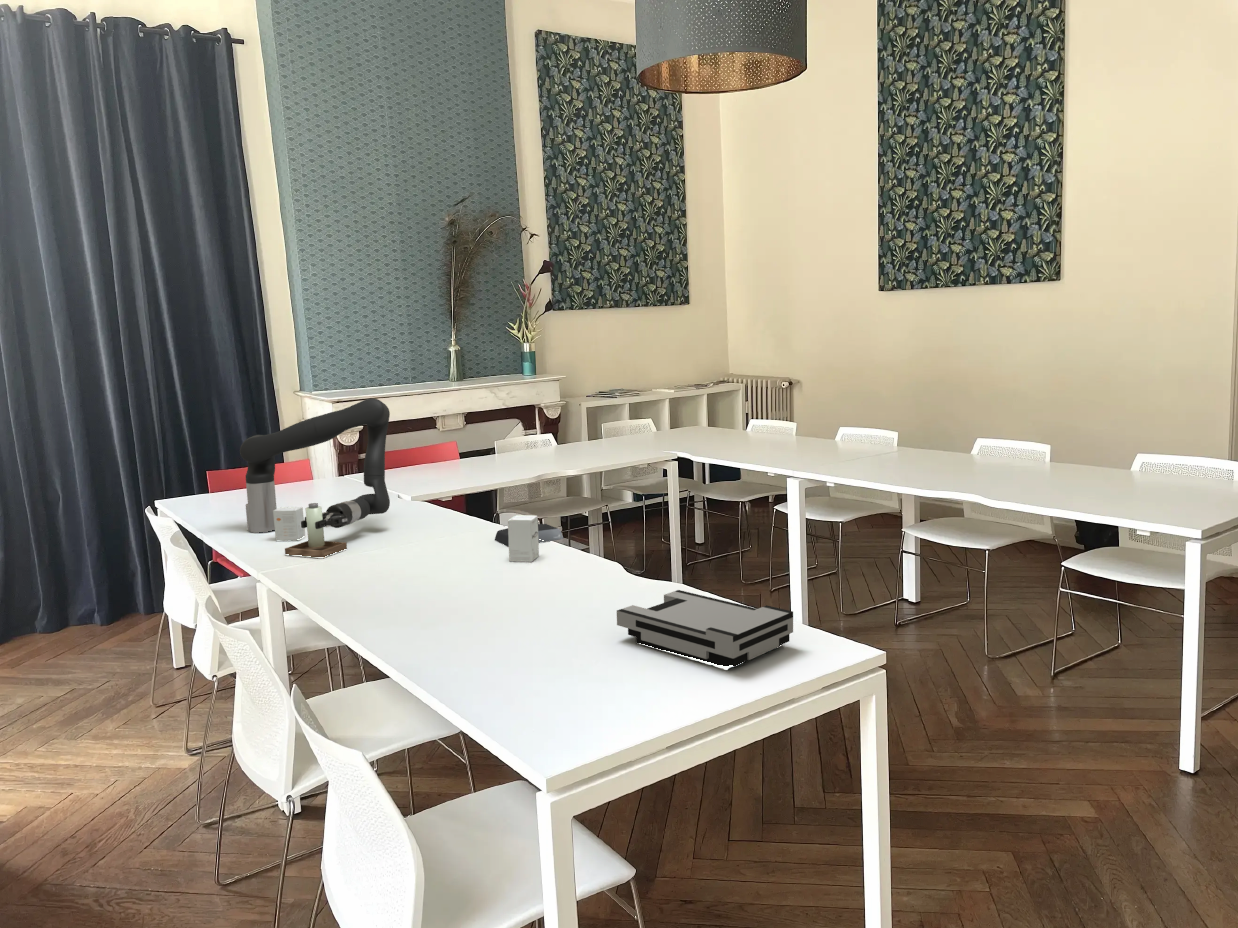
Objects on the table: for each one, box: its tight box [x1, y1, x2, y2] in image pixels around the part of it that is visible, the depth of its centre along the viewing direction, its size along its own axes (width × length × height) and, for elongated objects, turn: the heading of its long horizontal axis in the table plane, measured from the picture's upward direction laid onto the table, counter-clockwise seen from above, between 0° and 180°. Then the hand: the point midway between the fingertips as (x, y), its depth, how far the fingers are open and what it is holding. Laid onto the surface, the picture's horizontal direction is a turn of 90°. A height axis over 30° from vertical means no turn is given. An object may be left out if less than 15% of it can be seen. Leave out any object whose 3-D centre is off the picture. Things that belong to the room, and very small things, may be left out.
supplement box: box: [507, 514, 540, 563], centre depth 282 cm, size 7×7×13 cm
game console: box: [616, 589, 794, 666], centre depth 205 cm, size 21×32×8 cm, turn 46°
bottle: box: [305, 502, 326, 547], centre depth 296 cm, size 5×5×13 cm
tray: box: [284, 540, 348, 557], centre depth 297 cm, size 14×12×2 cm
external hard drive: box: [494, 523, 564, 548], centre depth 308 cm, size 13×19×4 cm
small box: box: [273, 506, 306, 541], centre depth 316 cm, size 8×6×10 cm
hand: (309, 525), depth 293 cm, fingers closed on bottle, 4 cm apart
